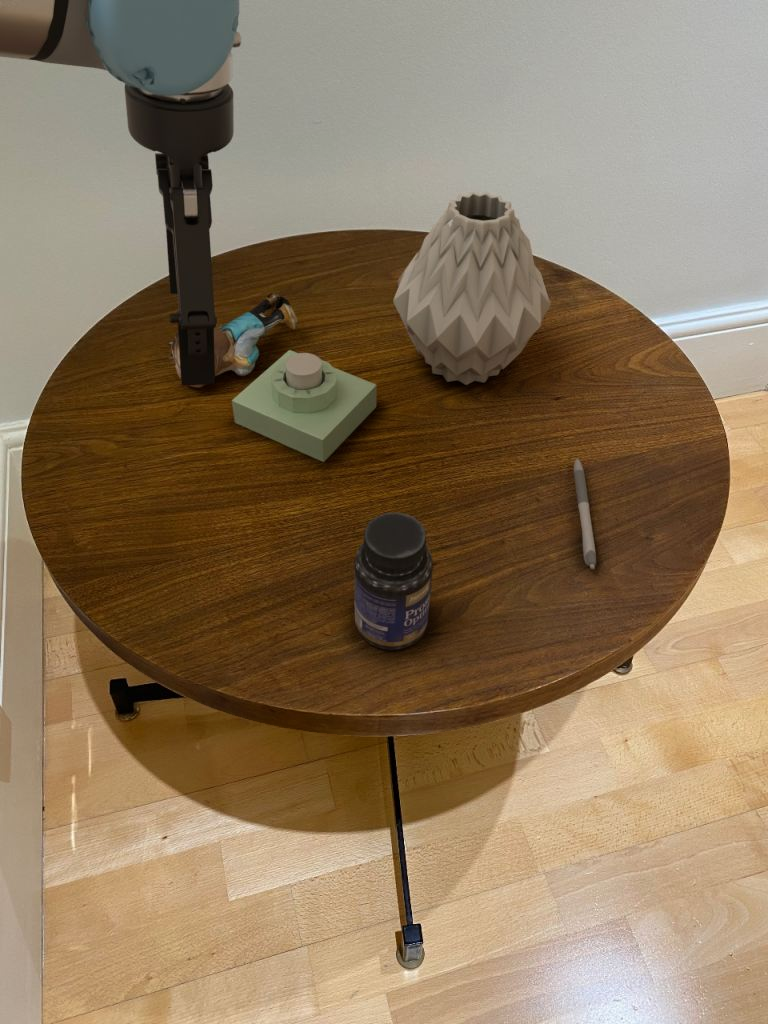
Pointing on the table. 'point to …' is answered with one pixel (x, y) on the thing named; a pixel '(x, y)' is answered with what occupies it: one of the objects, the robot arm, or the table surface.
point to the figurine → (243, 336)
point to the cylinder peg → (303, 371)
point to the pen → (584, 515)
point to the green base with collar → (305, 408)
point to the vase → (472, 290)
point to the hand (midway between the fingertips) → (191, 334)
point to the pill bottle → (392, 582)
